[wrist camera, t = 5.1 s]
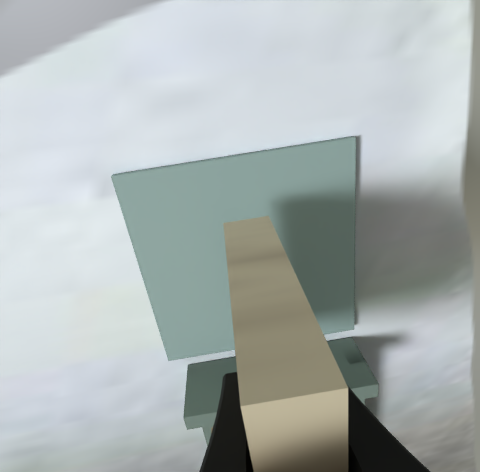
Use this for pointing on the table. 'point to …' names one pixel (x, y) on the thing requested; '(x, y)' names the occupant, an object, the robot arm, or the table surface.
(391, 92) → the table surface
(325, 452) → the plywood sheet
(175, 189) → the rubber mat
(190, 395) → the rack
